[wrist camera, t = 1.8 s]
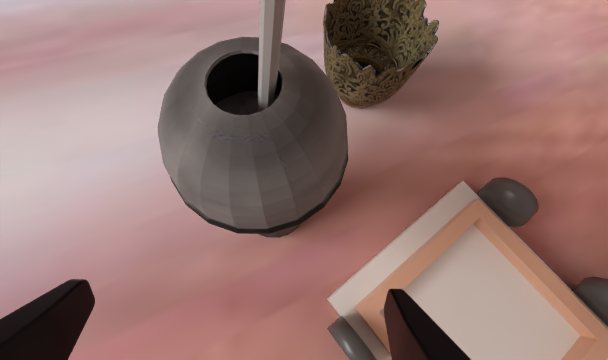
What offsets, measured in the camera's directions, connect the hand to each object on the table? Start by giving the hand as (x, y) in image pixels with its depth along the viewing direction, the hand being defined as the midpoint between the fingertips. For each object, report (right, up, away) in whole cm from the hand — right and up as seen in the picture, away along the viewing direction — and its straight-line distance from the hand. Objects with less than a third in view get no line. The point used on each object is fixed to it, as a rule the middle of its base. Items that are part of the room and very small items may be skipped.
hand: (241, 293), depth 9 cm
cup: (+7, +11, +18) cm, 22 cm away
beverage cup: (0, +1, +14) cm, 14 cm away
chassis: (+14, -7, +12) cm, 19 cm away
